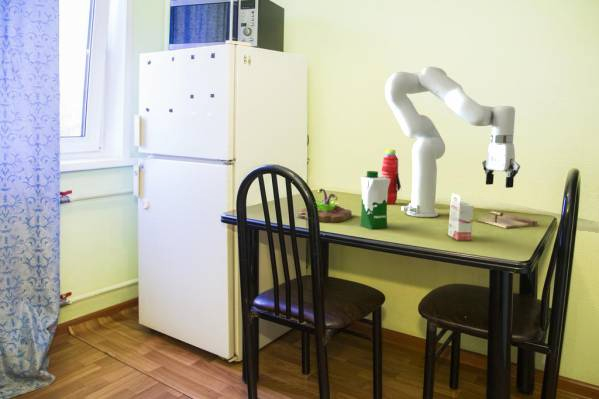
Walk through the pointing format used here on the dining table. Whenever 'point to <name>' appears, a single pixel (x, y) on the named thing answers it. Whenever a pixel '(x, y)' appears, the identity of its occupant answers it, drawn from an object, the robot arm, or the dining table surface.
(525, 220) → the frame foot
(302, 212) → the plant
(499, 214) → the photo frame
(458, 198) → the ink cartridge box
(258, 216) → the dining table surface
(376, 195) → the milk carton
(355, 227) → the dining table surface
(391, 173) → the water bottle
